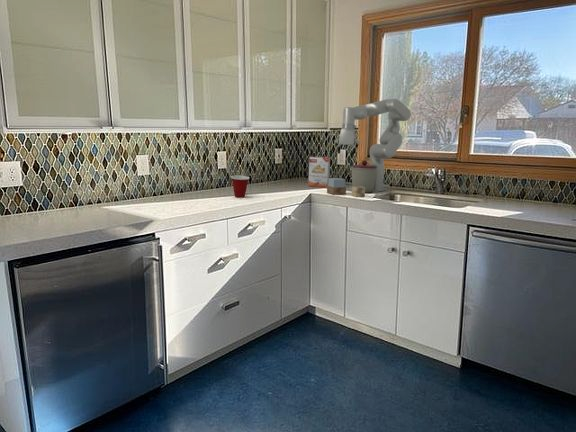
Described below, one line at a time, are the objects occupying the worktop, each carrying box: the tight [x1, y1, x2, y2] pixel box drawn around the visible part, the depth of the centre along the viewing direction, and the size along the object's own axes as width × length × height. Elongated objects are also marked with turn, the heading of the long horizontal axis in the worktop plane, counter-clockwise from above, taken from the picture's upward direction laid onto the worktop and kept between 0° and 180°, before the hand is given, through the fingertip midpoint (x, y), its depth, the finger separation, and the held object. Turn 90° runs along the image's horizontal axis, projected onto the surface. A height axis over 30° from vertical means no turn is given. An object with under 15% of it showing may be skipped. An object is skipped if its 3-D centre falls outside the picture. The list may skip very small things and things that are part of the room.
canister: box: [350, 159, 378, 194], centre depth 291 cm, size 18×18×21 cm
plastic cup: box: [230, 175, 250, 199], centre depth 255 cm, size 11×11×12 cm
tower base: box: [326, 186, 347, 196], centre depth 280 cm, size 9×9×5 cm
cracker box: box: [307, 156, 331, 188], centre depth 312 cm, size 14×6×21 cm, turn 73°
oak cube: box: [351, 185, 366, 198], centre depth 272 cm, size 6×6×6 cm
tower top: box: [328, 177, 346, 188], centre depth 279 cm, size 8×8×5 cm
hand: (346, 153), depth 284 cm, fingers open, 9 cm apart
